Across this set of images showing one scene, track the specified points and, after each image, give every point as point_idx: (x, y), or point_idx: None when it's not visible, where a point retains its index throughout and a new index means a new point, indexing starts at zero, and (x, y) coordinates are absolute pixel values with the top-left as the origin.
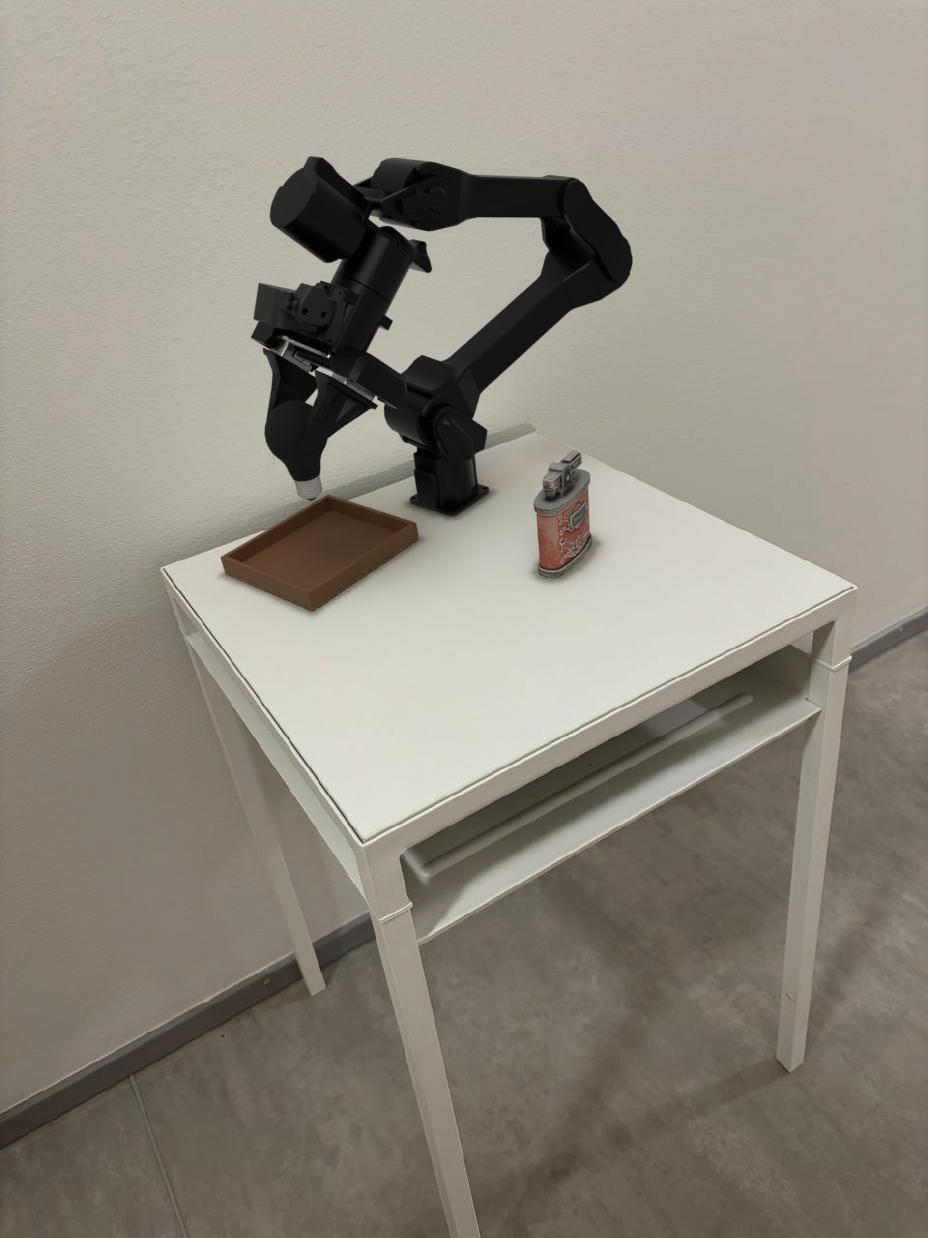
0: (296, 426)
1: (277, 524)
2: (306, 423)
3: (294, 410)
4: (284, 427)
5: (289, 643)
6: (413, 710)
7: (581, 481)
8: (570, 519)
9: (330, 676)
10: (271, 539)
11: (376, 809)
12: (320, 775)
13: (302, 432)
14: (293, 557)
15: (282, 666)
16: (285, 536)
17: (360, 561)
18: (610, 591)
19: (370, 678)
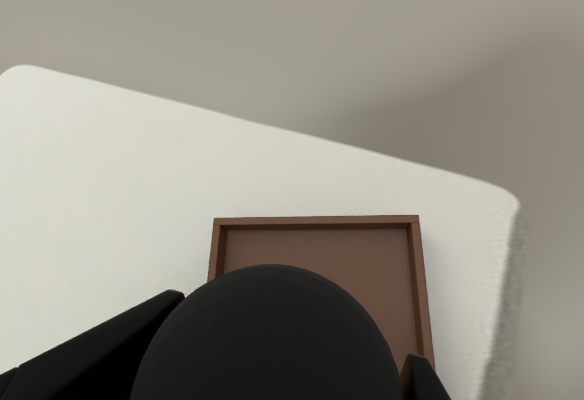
0: (160, 329)
1: (430, 349)
2: (101, 351)
3: (169, 389)
4: (200, 293)
5: (206, 168)
6: (30, 165)
7: None
8: None
9: (129, 155)
10: (416, 320)
11: (13, 77)
12: (67, 74)
13: (139, 325)
14: None
15: (185, 139)
16: (416, 352)
17: None
18: None
19: (90, 175)
